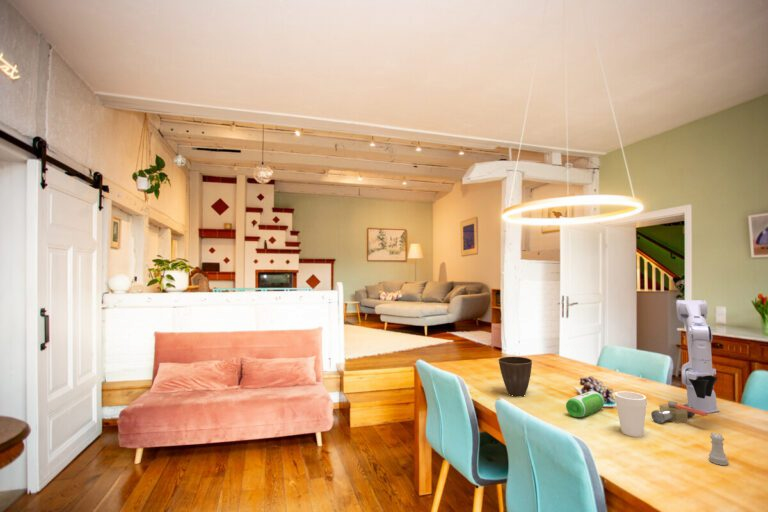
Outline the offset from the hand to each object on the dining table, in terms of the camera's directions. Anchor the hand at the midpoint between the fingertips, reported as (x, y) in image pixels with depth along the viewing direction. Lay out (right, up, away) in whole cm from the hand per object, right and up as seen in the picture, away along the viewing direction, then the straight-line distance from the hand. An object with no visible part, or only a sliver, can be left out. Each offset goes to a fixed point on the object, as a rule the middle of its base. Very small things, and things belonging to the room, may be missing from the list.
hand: (704, 396), depth 139 cm
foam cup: (-29, -11, -5) cm, 31 cm away
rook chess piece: (-17, -10, -26) cm, 33 cm away
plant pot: (-54, -14, +41) cm, 69 cm away
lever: (-5, -6, +2) cm, 8 cm away
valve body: (-6, -11, +6) cm, 14 cm away
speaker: (-35, -13, +15) cm, 40 cm away
